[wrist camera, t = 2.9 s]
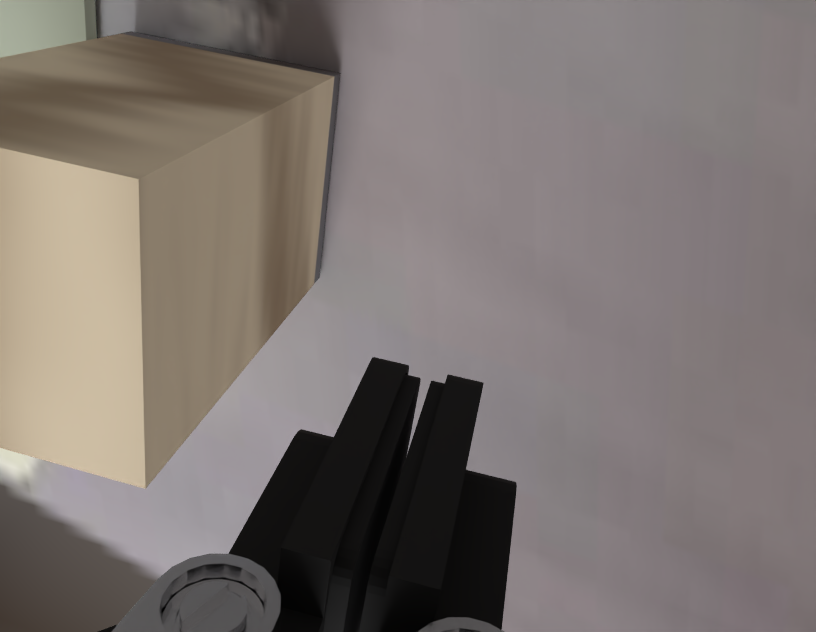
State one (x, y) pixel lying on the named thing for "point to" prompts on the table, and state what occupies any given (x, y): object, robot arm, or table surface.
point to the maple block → (148, 238)
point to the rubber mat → (44, 24)
